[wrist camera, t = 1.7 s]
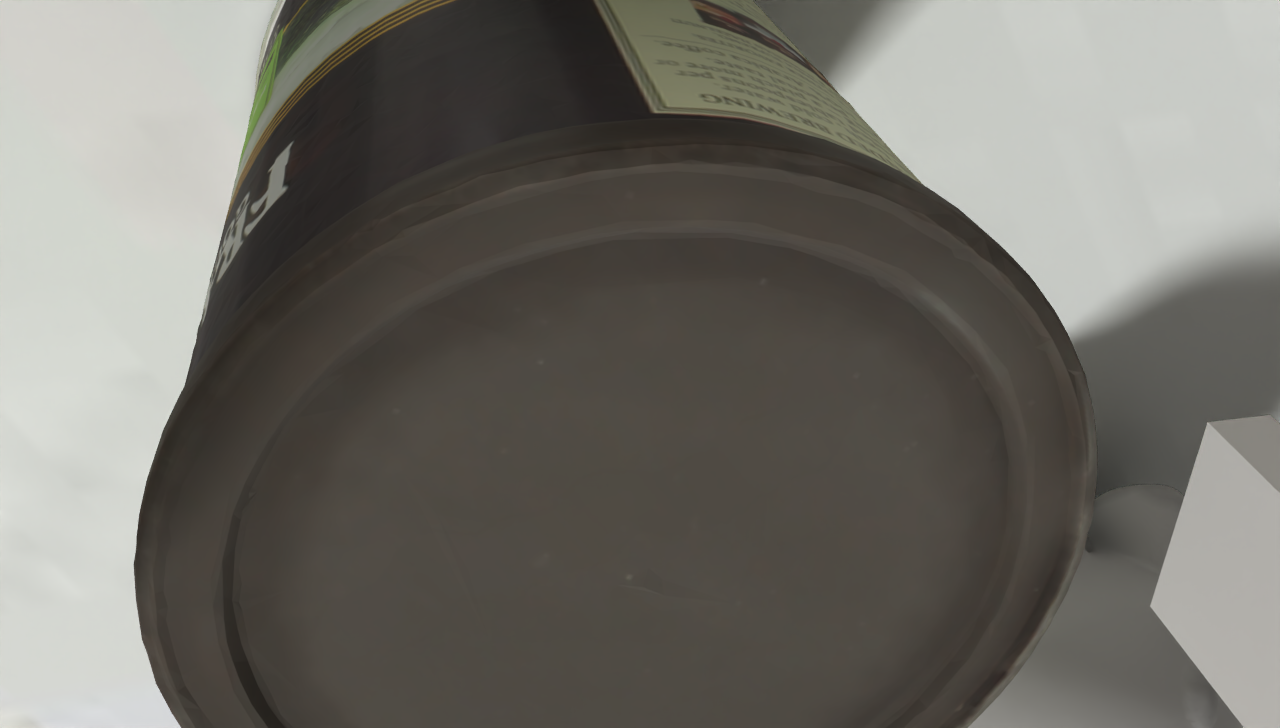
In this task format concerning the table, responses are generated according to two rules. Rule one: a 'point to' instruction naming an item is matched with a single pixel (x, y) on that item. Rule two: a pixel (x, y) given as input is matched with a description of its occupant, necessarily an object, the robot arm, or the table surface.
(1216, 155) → the table surface
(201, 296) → the table surface
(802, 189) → the coffee can
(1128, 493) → the chubby cartoon animal
